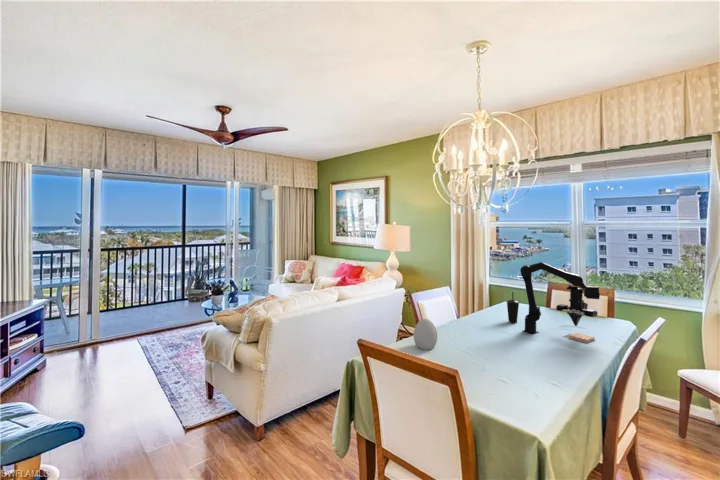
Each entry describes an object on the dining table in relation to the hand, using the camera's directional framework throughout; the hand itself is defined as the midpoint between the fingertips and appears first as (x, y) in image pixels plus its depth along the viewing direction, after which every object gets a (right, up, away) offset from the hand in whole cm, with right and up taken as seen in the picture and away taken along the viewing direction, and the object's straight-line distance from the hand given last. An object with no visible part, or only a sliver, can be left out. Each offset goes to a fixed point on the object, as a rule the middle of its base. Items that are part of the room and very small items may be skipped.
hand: (575, 325), depth 183 cm
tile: (-1, -6, +2) cm, 6 cm away
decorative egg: (-85, -9, -9) cm, 86 cm away
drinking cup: (-20, -6, +32) cm, 38 cm away
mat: (+1, -7, -1) cm, 7 cm away
